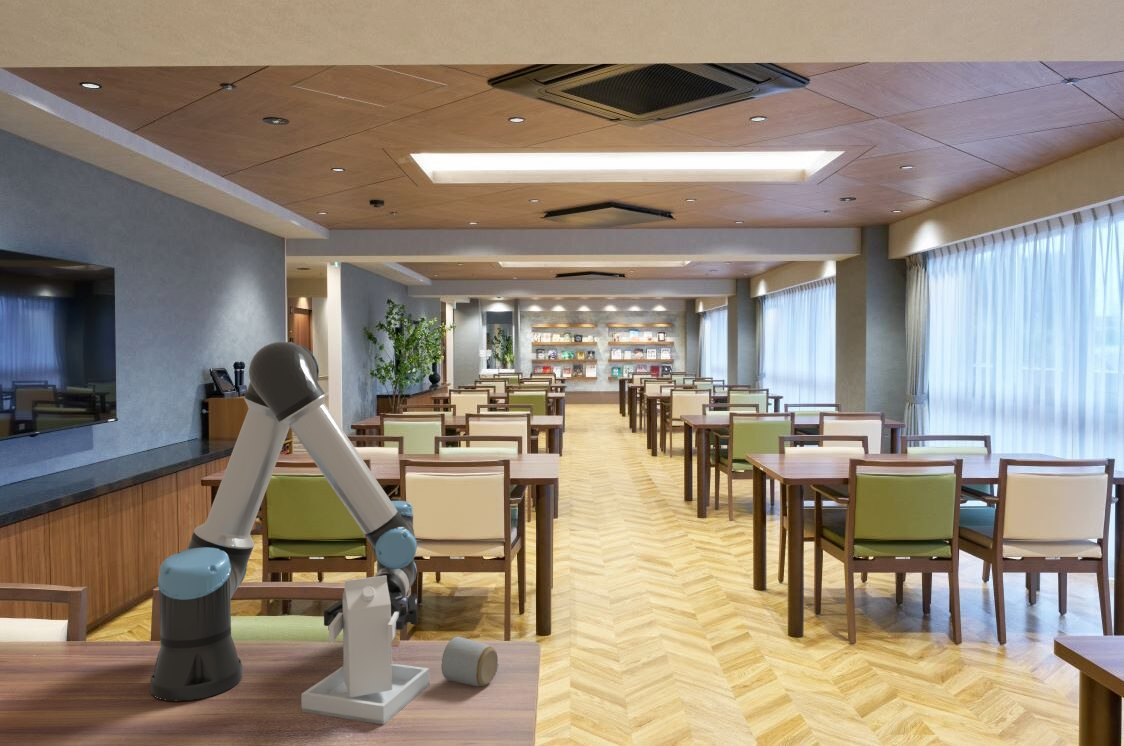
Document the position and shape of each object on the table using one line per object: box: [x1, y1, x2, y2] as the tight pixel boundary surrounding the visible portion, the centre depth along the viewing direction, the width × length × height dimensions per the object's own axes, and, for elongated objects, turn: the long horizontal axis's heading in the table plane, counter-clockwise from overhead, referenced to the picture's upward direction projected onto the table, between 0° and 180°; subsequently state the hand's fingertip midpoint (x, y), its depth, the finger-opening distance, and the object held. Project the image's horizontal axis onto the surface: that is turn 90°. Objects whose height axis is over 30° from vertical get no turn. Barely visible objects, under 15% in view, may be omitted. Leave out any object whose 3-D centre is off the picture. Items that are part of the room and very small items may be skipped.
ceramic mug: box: [441, 635, 499, 687], centre depth 142 cm, size 11×8×8 cm
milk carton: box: [342, 576, 393, 697], centre depth 135 cm, size 7×7×19 cm
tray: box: [301, 663, 430, 725], centre depth 135 cm, size 16×16×3 cm
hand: (360, 633), depth 130 cm, fingers closed on milk carton, 9 cm apart
